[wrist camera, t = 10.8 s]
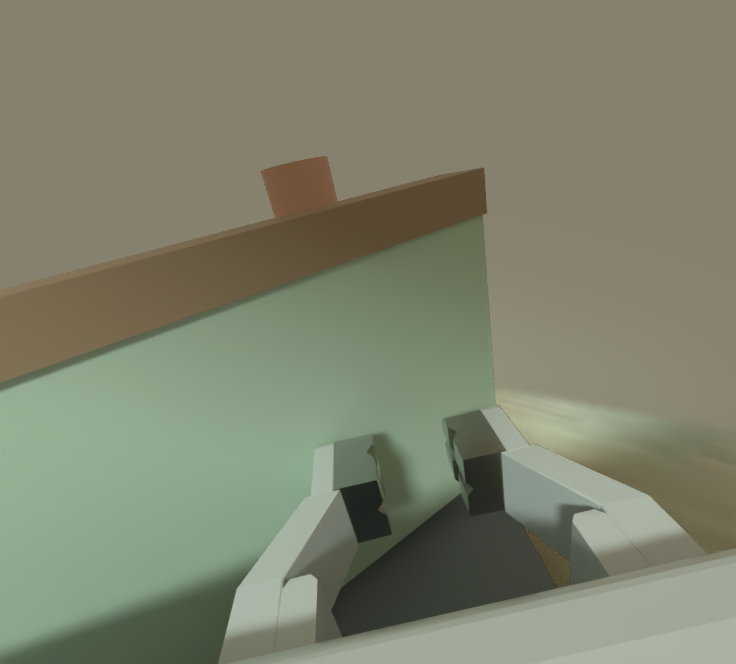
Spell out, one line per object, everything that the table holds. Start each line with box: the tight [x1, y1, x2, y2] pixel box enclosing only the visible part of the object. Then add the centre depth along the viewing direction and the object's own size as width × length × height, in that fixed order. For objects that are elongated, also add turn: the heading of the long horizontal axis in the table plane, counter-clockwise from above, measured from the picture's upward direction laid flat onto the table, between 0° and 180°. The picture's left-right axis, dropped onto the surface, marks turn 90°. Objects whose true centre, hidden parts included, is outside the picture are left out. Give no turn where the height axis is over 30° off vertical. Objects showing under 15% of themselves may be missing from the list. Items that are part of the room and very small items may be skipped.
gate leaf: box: [0, 168, 496, 664], centre depth 8 cm, size 20×2×11 cm, turn 122°
